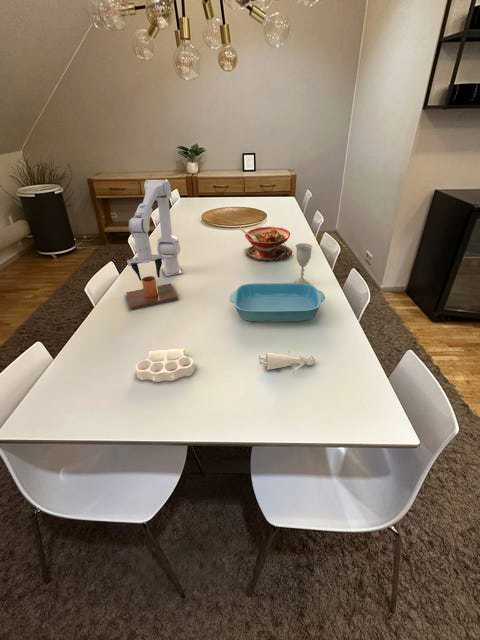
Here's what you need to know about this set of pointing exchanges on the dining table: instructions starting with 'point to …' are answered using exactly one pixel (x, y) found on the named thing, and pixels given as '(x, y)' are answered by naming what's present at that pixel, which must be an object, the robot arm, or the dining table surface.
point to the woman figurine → (284, 360)
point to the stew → (268, 243)
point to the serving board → (164, 295)
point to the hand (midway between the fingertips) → (149, 277)
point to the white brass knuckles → (165, 365)
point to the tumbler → (150, 286)
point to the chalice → (303, 258)
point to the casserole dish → (277, 301)
